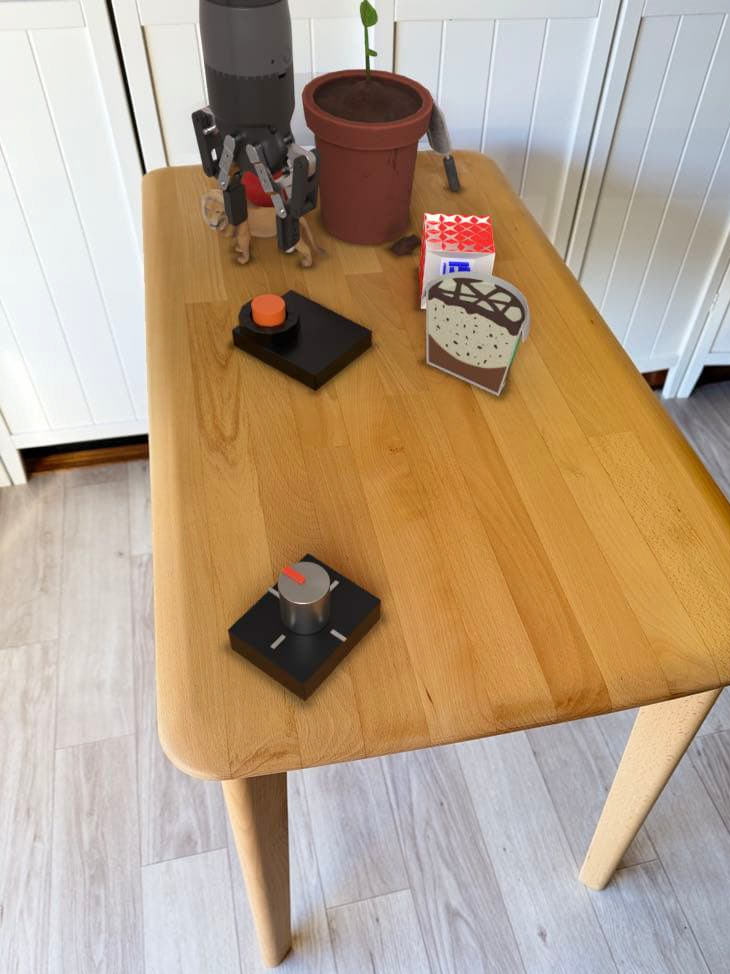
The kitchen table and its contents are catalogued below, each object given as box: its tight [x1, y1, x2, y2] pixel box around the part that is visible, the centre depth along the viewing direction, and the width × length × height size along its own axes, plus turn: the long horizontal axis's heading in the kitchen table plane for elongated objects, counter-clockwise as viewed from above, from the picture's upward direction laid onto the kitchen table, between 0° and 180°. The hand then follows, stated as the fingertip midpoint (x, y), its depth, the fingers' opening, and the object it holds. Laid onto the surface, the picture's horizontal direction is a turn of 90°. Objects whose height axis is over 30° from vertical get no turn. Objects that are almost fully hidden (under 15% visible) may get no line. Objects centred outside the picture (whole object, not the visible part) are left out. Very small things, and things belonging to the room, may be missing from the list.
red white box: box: [418, 212, 496, 310], centre depth 98 cm, size 8×8×8 cm
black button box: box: [231, 289, 373, 392], centre depth 91 cm, size 10×12×4 cm
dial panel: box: [227, 552, 382, 702], centre depth 68 cm, size 10×8×3 cm
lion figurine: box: [200, 187, 327, 268], centre depth 99 cm, size 15×5×9 cm, turn 98°
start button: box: [251, 293, 286, 327], centre depth 89 cm, size 4×4×2 cm
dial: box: [277, 561, 330, 635], centre depth 65 cm, size 4×4×5 cm
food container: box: [421, 271, 531, 397], centre depth 88 cm, size 12×6×10 cm, turn 58°
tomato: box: [241, 170, 288, 207], centre depth 106 cm, size 9×9×8 cm
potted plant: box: [301, 0, 461, 256], centre depth 100 cm, size 18×22×25 cm
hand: (263, 234), depth 82 cm, fingers open, 6 cm apart
